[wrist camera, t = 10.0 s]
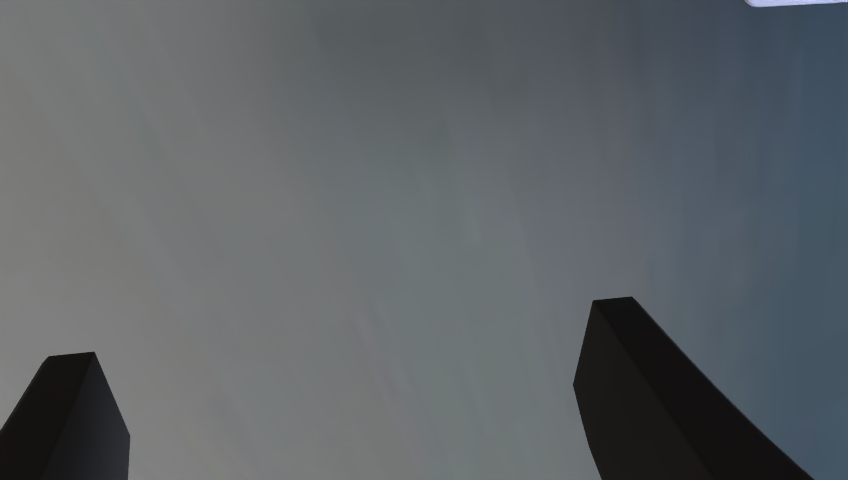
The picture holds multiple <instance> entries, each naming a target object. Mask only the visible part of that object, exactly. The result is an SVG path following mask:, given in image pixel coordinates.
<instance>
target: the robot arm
mask: <svg viewBox="0 0 848 480" xmlns="http://www.w3.org/2000/svg"><path fill="white" fill-rule="evenodd" d="M744 1H745V2H746V3H748V4H749V5H750V6H754V7H769V6H786V5H804V4H821V3H839V2H848V0H744ZM573 387H574V391H575V395H576V399H577V403H578V407H579V411H580V415H581V419H582V422H583V426H584V430H585V433H586V437H587V441H588V444H589V448H590V450H591V453H592V456H593V458H594V461H595V464H596V466H597V469H598V471H599V474H600V476H601V479H602V480H815V479H813V478H812V477H811V476H810V475H809V474H808V473H807V472H805V471H804V470H803V469H802V468H801V467H800V466H799V465H797V464H796V463H795V462H794V461H793V460H792V459H791V458H790V457H789V456H788V455H786V454H785V453H784V452H783V451H782V450H781V449H780V448H779V447H778V446H777V445H776V444H774V443H773V442H772V441H771V440H770V439H769V438H768V437H767V436H766V435H765V434H764V433H763V432H762V431H761V430H760V429H759V428H757V427H756V426H755V425H754V424H753V423H752V422H751V421H750V420H749V419H748V418H747V417H746V416H745V415H744V414H743V413H742V412H741V411H740V410H739V409H738V408H737V407H736V406H735V405H734V404H733V403H732V402H731V401H730V400H729V399H728V398H727V397H726V396H725V395H724V394H723V393H722V392H721V391H720V390H719V389H718V388H717V387H716V386H715V385H714V384H713V383H712V382H711V381H710V380H709V379H708V378H707V377H706V376H705V374H704V373H703V372H702V371H701V370H700V369H699V368H698V367H697V366H696V365H695V364H694V363H693V362H692V361H691V360H690V359H689V358H688V356H687V355H686V354H685V353H684V352H683V351H682V350H681V349H680V348H679V347H678V346H677V345H676V344H675V342H674V341H673V340H672V339H671V338H670V337H669V336H668V335H667V334H666V333H665V332H664V330H663V329H662V328H661V327H660V326H659V325H658V324H657V323H656V322H655V321H654V319H653V318H652V317H651V316H650V315H649V314H648V313H647V312H646V311H645V310H644V308H643V307H642V306H641V305H640V304H639V303H638V302H637V301H636V300H635V299H634V298H633V297H622V298H613V299H603V300H593V302H592V307H591V311H590V315H589V319H588V323H587V328H586V332H585V336H584V340H583V345H582V349H581V353H580V357H579V362H578V366H577V370H576V374H575V378H574V383H573ZM129 448H130V434H129V432H128V430H127V427H126V425H125V423H124V420H123V418H122V416H121V413H120V411H119V408H118V406H117V404H116V401H115V399H114V397H113V394H112V392H111V390H110V387H109V385H108V382H107V380H106V378H105V375H104V373H103V371H102V368H101V366H100V364H99V361H98V359H97V356H96V354H95V352H86V353H76V354H67V355H57V356H49V357H48V358H47V359H46V360H45V361H44V362H43V363H42V365H41V366H40V368H39V370H38V371H37V373H36V374H35V376H34V378H33V379H32V381H31V383H30V384H29V386H28V387H27V389H26V391H25V392H24V394H23V396H22V397H21V399H20V400H19V402H18V404H17V405H16V407H15V408H14V410H13V412H12V413H11V415H10V416H9V418H8V420H7V421H6V423H5V424H4V426H3V427H2V429H1V430H0V480H128V467H129Z"/></svg>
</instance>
